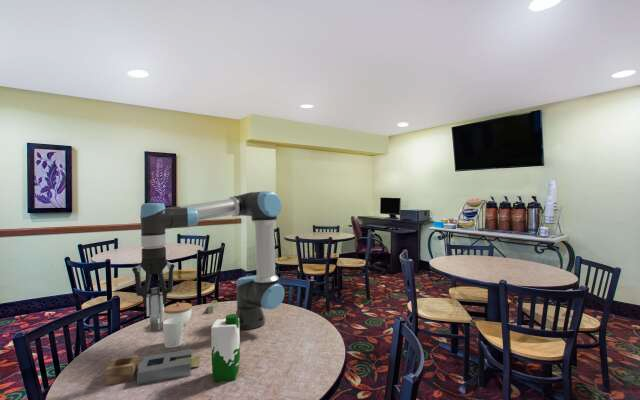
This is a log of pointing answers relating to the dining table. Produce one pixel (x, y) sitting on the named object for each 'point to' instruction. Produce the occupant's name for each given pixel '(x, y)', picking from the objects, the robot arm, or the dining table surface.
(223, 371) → the milk carton
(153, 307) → the grey cylindrical rod
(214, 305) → the medication box
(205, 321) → the dining table surface
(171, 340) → the white cup
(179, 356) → the socket block
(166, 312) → the lidded bowl
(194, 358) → the bar
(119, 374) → the tan wooden open box
